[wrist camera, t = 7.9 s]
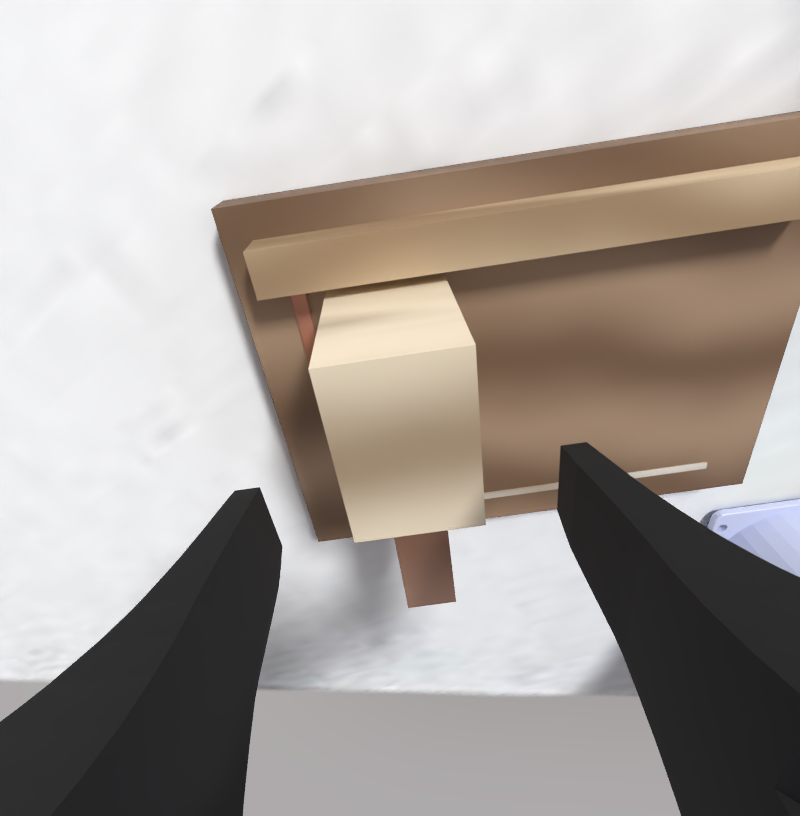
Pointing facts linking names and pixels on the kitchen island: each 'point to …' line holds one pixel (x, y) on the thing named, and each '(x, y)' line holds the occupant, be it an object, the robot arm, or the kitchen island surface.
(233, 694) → the robot arm
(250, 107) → the kitchen island surface
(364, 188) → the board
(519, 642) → the kitchen island surface
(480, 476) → the mallet
